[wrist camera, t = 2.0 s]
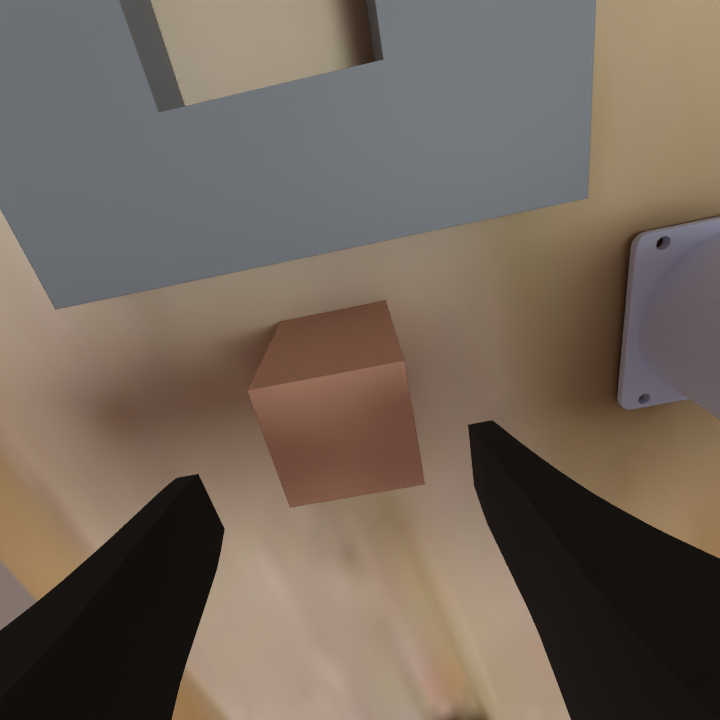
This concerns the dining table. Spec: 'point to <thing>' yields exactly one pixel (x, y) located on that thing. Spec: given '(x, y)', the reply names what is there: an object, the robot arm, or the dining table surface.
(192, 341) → the dining table surface
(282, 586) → the dining table surface
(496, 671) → the dining table surface
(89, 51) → the socket board
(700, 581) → the robot arm
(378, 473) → the square peg
